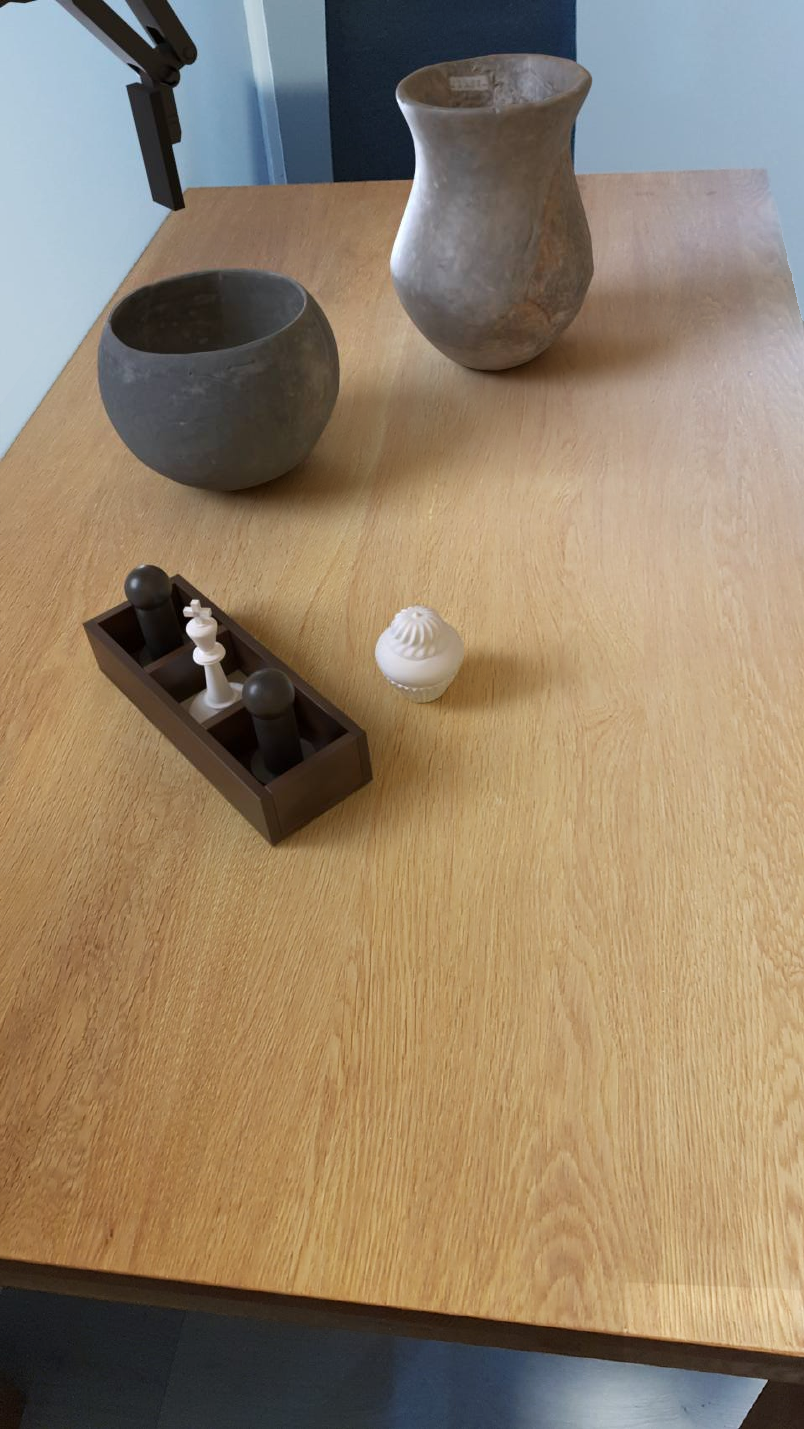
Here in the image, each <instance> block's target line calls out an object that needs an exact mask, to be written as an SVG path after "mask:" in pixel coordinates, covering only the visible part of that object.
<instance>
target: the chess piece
mask: <svg viewBox="0 0 804 1429" xmlns="http://www.w3.org/2000/svg"><path fill="white" fill-rule="evenodd" d="M190 605H191V607H185V608H184V610H183V613H184V616H186V617H194V619H192V620H191V621H190V622H189V623H188V624H187V626H186V632H187V634H188V635H189V637H190V638H191V639H192V640H193V641H194V642H195V644H196V645H197V647H196V648H195V650H194V652H193V659H194V661H195V662H196V663H197V664H200V665H204V667H205V674H206V682H207V688H206V689H205V690H203V691H202V692H200V693H199V694H198V695H197V696H196V697H195V698H194V700H193V701H192V703H191V706H190V710H189V714H190V715H191V716H192V717H193V718H194V719H195V720H196V721H197V722H198V723H199V724H200V723H202V722H204V721H205V720H207V719H209V718H210V717H212V716H214V715H215V714H217V713H219V712H220V711H222V710H224V709H225V708H227V707H229V706H230V705H232V704H234V703H235V702H237V701H239V700H240V699H242V689H243V686H244V685H243V684H239V683H231V682H229V683H228V681H227V679H226V676H225V674H224V672H223V670H222V667H221V665H220V662H219V661H221V660H222V659H223V658H224V656H225V649H224V647H223V646H222V645H221V644H220V643H218V642H215V641H216V633H217V622H216V620H215V619H214V618H212V617H210V616H211V614H212V612H211V608H201V606H200V602H199V600H192V602H191V604H190Z"/></svg>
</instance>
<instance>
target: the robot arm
mask: <svg viewBox="0 0 804 1429" xmlns="http://www.w3.org/2000/svg"><path fill="white" fill-rule="evenodd" d="M36 1H37V0H0V9H1V8H3V7H4V6H6V5H7V4H9V3H14V4H15V3H16V4H27V3H32V2H36ZM124 1H125V3H126V4H127V6H128V7H129V9H130V11H131V12H132V14H133V15H134V16H135V18H136V20H137V21H138V23H139V24H140V26H141V27H142V30H144V32H145V34H146V35H147V36H148V38H149V39H150V41H151V42H152V45H153V46H154V47H152V45H150V44H149V42H147V41H146V39H144V37H142V36H141V35H140V34H139V33H138V32H137V31H136V30H135V29H134V28H133V27H132V26H131V25H130V24H129V23H128V22H126V21H125V19H123V18H122V16H120V15H119V14H118V13H117V12H116V11H115V10H114V9H113V8H112V7H111V6H110V5H109V4H108V3H107V2H106V1H105V0H55V2H56V3H58V5H60V6H61V7H62V8H63V10H65V11H66V12H67V13H68V14H69V15H71V16H72V17H73V18H74V19H75V20H76V21H77V22H78V23H79V24H81V25H82V26H83V27H84V28H85V29H86V30H87V31H88V32H89V33H90V34H91V35H92V36H93V37H94V38H95V39H96V40H98V41H99V42H100V43H101V44H102V45H103V46H104V47H106V48H107V49H108V50H109V52H111V53H112V54H113V55H114V56H115V57H116V58H117V59H118V60H120V61H121V62H122V63H123V64H124V65H125V66H126V67H127V68H129V70H131V71H132V72H133V73H134V74H135V75H136V76H137V77H139V80H140V82H138V81H135V82H132V83H129V84H126V85H125V88H126V93H127V97H128V100H129V105H130V110H131V114H132V118H133V122H134V126H135V131H136V135H137V140H138V144H139V148H140V152H141V156H142V161H143V164H144V165H143V166H144V168H145V173H146V178H147V182H148V187H149V191H150V195H151V200H152V202H153V203H156V204H158V205H160V206H162V207H165V208H167V209H169V210H171V211H173V212H178V211H181V210H184V209H186V204H185V199H184V194H183V190H182V189H183V188H182V186H181V180H180V176H179V171H178V167H177V162H176V156H175V152H174V148H173V145H176V144H179V143H181V142H182V133H183V131H182V126H181V122H180V117H179V114H178V113H179V112H178V108H177V102H176V97H175V93H174V88H176V87H177V86H178V85H179V84H180V81H181V72H180V71H181V70H182V69H183V68H184V67H185V66H192V65H193V64H194V63H195V62H196V60H198V59H197V58H198V49H197V46H196V44H195V42H194V41H193V39H192V38H191V35H189V33H188V31H187V30H186V28H185V26H184V25H183V23H182V22H181V20H180V18H179V17H178V15H177V14H176V12H175V10H174V9H173V6H171V4H170V3H169V1H168V0H124Z"/></svg>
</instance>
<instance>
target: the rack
mask: <svg viewBox="0 0 804 1429" xmlns="http://www.w3.org/2000/svg"><path fill="white" fill-rule="evenodd" d="M169 578H170V581H171V584H172V593H171V599H172V602H173V606H174V609H175V612H176V616H177V619H178V623H179V626H180V629H181V633H182V634H186V635H188V634H187V632H186V626H187V624H188V623H189V622H190V621H191V620H192V619H194V617H186V616H184V613H183V610H184V608H185V607H191V605H190V604H191V602H192V600H199V602H200V606H201V608H211V612H212V614H211V616H210V617H212V618H214V619H215V620H216V622H217V633H216V641H215V642H218V643H220V644H221V645H222V646H223V647H224V649H225V656H224V658H223V659H222V660H221V661H219V662H220V665H221V667H222V670H223V672H224V674H225V676H226V679H227V681H228V683H229V682H231V683H239V684H243V685H244V683H245V681H246V680H247V678H248V677H249V676H250V675H251V674H252V673H254V672H255V671H257V670H260V669H264V668H272V669H277V670H279V671H281V672H283V673H284V674H285V675H287V676H288V677H289V679H290V680H291V682H292V684H293V686H294V691H295V698H294V703H293V709H294V714H295V719H296V723H297V728H298V733H299V737H300V738H303V739H305V740H307V741H308V742H310V743H311V744H312V745H313V746H314V748H315V749H316V751H317V753H315V754H314V755H312V756H311V757H309V758H307V759H306V760H304V761H303V762H301V763H300V764H298V765H297V766H295V767H293V768H292V769H290V770H289V771H287V772H286V773H284V774H282V775H281V776H279V777H278V778H276V779H275V780H273V781H272V782H270V783H268V784H267V785H265V786H263V785H262V784H261V783H260V782H259V781H258V780H257V779H256V778H255V777H254V776H253V775H252V772H251V767H250V763H251V759H252V756H253V754H254V753H255V751H256V750H257V749H258V748H259V747H260V746H259V743H258V739H257V735H256V731H255V727H254V723H253V719H252V715H251V714H250V713H249V712H248V710H247V709H246V707H245V706H244V703H243V699H240V700H239V701H237V702H235V703H234V704H232V705H230V706H229V707H227V708H225V709H224V710H222V711H220V712H219V713H217V714H215V715H214V716H212V717H210V718H209V719H207V720H205V721H204V722H202V723H200V724H199V723H198V722H197V721H196V720H195V719H194V718H193V717H192V716H191V715H190V714H189V710H190V706H191V703H192V701H193V700H194V698H195V697H196V696H197V695H198V694H199V693H200V692H202V691H203V690H205V689H206V688H207V682H206V674H205V667H204V665H200V664H197V663H196V662H195V661H194V659H193V652H194V650H195V648H196V647H197V645H196V644H195V642H194V641H191V642H189V643H187V644H185V645H184V646H182V647H180V648H178V649H176V650H175V651H173V652H171V653H169V654H167V655H166V656H164V657H162V658H160V659H158V660H157V661H155V662H153V663H151V664H149V665H148V666H146V667H144V668H142V667H141V666H140V663H139V654H140V651H141V650H142V648H143V647H144V646H145V645H146V641H145V638H144V635H143V632H142V629H141V626H140V623H139V620H138V617H137V614H136V611H135V608H134V606H133V605H132V604H131V603H130V602H129V601H128V599H126V600H125V601H123V602H121V603H119V604H117V605H115V606H112V607H111V608H109V609H107V610H105V611H103V612H102V613H100V614H98V615H96V616H94V617H92V618H91V619H88V620H86V621H85V622H82V626H83V629H84V631H85V634H86V637H87V639H88V643H89V645H90V648H91V650H92V653H93V656H94V658H95V661H96V663H97V666H98V669H99V671H100V672H101V673H102V674H103V675H104V676H105V677H106V678H107V679H108V680H109V681H110V682H111V683H112V684H113V685H114V686H115V687H116V688H117V689H118V690H119V691H120V692H121V693H122V695H123V696H125V698H127V700H129V702H130V703H132V705H134V706H135V708H136V709H137V710H138V711H139V712H140V713H141V714H142V715H143V716H144V717H145V718H146V719H147V720H148V721H149V722H150V723H151V724H152V725H153V726H154V728H156V729H157V730H158V732H160V733H161V735H163V737H165V738H166V739H167V741H169V743H171V745H172V746H174V748H176V750H177V751H178V752H179V753H180V754H181V755H182V756H183V757H184V758H185V759H186V760H187V761H188V762H189V763H190V764H191V765H192V767H194V768H195V769H196V770H197V771H198V772H199V773H200V774H201V775H202V776H203V778H204V779H205V780H207V781H208V783H209V784H211V786H212V787H214V789H216V791H217V792H218V793H219V794H220V795H221V796H222V797H223V798H224V799H225V800H227V802H228V803H229V804H230V805H231V806H232V808H234V809H235V810H236V811H237V812H238V814H240V815H241V816H242V817H243V818H244V820H246V821H247V822H248V824H250V826H251V827H252V828H254V830H255V831H256V832H257V833H258V834H259V835H260V836H261V837H262V838H263V839H264V840H265V841H266V842H267V843H268V844H269V845H270V846H271V847H272V848H274V847H276V846H278V845H279V844H281V843H282V842H283V841H285V840H286V839H288V838H289V837H291V836H293V835H294V834H295V833H297V832H298V831H300V830H302V828H304V827H306V826H307V825H309V824H311V822H313V821H315V820H316V819H317V818H319V817H320V816H322V815H323V814H325V813H326V812H328V811H330V810H331V809H333V808H334V807H335V806H337V805H338V804H340V803H341V802H343V801H345V800H346V799H347V798H349V797H350V796H352V795H353V794H355V793H356V792H358V791H359V790H361V789H362V788H364V787H366V786H367V785H368V784H370V783H371V782H372V781H374V775H373V766H372V760H371V754H370V747H369V739H368V733H367V731H366V730H365V729H364V728H362V727H361V725H359V723H356V722H355V721H354V720H353V719H352V718H351V717H350V716H348V715H347V714H346V713H345V712H344V711H342V710H341V709H340V708H339V707H337V705H335V704H334V703H333V702H332V701H330V700H329V699H328V697H326V696H324V694H322V693H321V692H320V691H319V690H318V689H316V688H315V687H314V686H312V684H310V683H309V682H308V681H307V680H306V679H304V678H303V677H302V676H301V675H299V674H298V673H297V672H296V671H295V670H294V669H292V667H290V666H289V665H288V664H286V662H284V661H283V660H282V659H281V658H279V657H278V656H277V654H275V653H274V652H272V651H271V649H269V648H267V647H266V646H265V645H264V644H263V643H262V642H261V641H259V640H258V639H257V638H256V637H255V636H253V635H252V633H250V632H249V631H247V630H246V629H245V627H242V626H241V625H240V624H239V623H238V622H237V621H235V620H234V619H233V618H232V617H231V616H230V615H228V614H227V612H225V611H224V610H222V609H221V608H220V607H219V606H218V605H216V604H215V603H214V602H213V601H212V600H211V599H210V598H208V597H207V596H206V595H205V594H203V593H202V592H201V591H200V590H199V589H197V588H196V587H195V586H194V585H193V584H191V583H190V582H189V581H188V580H187V579H185V577H183V576H182V575H181V574H179V573H176V574H175V575H173V576H171V577H169ZM188 636H189V635H188Z"/></svg>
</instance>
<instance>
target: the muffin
mask: <svg viewBox="0 0 804 1429" xmlns="http://www.w3.org/2000/svg"><path fill="white" fill-rule="evenodd" d="M374 656H375V661H376V664H377V666H378V668H379V670H380V671H381V672H382V675H383V677H384V678H386V680H387V682H388V683H389V684H390V685H391V686H392V687H393V688H394V689H395V690H396V691H397V692H398V693H399V694H400V695H401V696H402V697H404V699H405V700H409V701H410V702H414V703H418V704H425V703H429V702H434V701H435V700H437V699H438V698H441V697H442V696H443V694H444V693H445V692H446V691H447V689H448V688H449V686H450V685H451V683H452V681H453V680H454V679H455V677H456V676H457V675H458V673H459V670H460V668H461V665H462V663H463V661H464V657H465V644H464V640H463V638H462V636H461V634H460V633H459V631H458V630H457V629H456V628H455V626H453V625H451V624H450V623H448V622H447V621H445V620H444V617H443V616H442V615H441V614H440V613H439V612H438V610H436V609H434V608H432V607H430V606H428V605H420V604H416V605H415V606H413V605H409V606H408V607H407V608H402V609H401V610H400V612H397V613H396V614H395V615H394V619H393V620H392V621H391V623H390V626H388V627H386V629H385V630H384V631H383V632H382V633H381V634H380V636H379V637H378V640H377V642H376V645H375V649H374Z"/></svg>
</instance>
